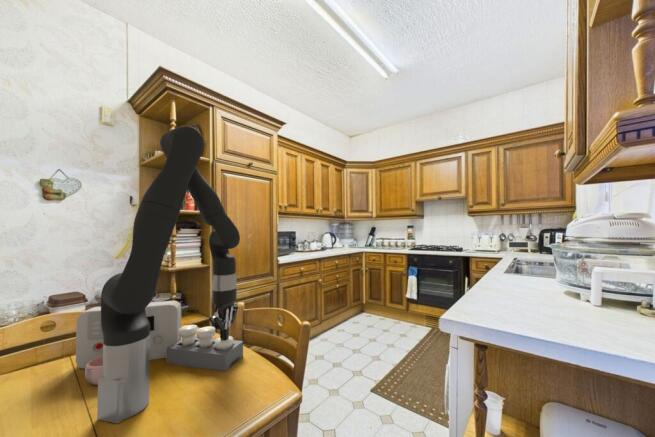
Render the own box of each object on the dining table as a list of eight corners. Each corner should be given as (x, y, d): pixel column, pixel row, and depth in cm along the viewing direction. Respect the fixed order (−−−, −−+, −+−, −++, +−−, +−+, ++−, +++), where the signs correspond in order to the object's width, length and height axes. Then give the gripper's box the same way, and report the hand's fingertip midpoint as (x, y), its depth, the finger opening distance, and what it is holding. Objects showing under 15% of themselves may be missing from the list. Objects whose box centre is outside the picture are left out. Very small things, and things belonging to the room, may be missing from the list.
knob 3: (226, 363, 83) (226, 344, 83) (211, 361, 84) (211, 342, 85) (236, 354, 89) (236, 336, 89) (221, 352, 90) (221, 335, 90)
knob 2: (207, 352, 85) (207, 333, 85) (192, 350, 86) (192, 332, 86) (218, 344, 90) (218, 327, 90) (204, 343, 92) (204, 325, 92)
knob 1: (189, 350, 86) (189, 331, 87) (174, 348, 88) (175, 330, 88) (200, 342, 92) (201, 325, 92) (187, 341, 93) (187, 324, 93)
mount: (225, 371, 81) (225, 355, 81) (166, 363, 86) (166, 347, 86) (243, 355, 90) (243, 341, 91) (188, 349, 95) (189, 335, 96)
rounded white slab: (70, 374, 80) (71, 314, 80) (85, 361, 87) (86, 307, 88) (175, 359, 88) (176, 305, 89) (180, 349, 96) (181, 299, 96)
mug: (103, 391, 71) (103, 369, 72) (75, 387, 73) (75, 365, 73) (142, 368, 83) (143, 349, 83) (117, 364, 85) (117, 346, 85)
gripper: (222, 292, 80) (222, 349, 80) (245, 283, 93) (245, 332, 92) (201, 291, 82) (201, 347, 81) (226, 282, 95) (226, 330, 94)
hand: (224, 339), depth 87 cm, fingers closed
